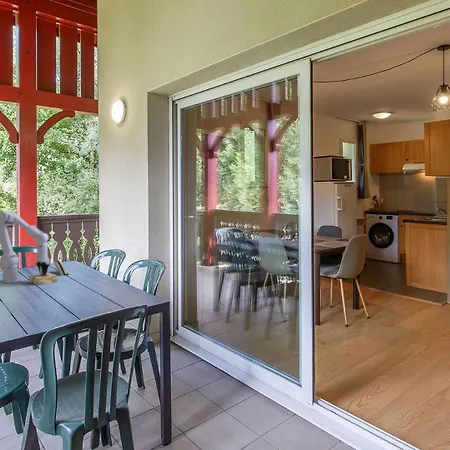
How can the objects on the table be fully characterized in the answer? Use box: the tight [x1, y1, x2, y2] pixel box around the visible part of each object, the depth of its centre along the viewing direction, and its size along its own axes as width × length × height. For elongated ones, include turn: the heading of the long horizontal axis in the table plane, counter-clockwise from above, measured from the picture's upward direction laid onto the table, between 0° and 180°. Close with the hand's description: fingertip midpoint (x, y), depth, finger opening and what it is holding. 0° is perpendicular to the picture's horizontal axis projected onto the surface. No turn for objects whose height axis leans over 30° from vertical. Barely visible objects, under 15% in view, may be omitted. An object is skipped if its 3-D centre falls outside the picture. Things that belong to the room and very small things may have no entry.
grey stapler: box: [54, 259, 70, 276], centre depth 261 cm, size 17×5×10 cm, turn 32°
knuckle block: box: [28, 272, 58, 286], centre depth 236 cm, size 12×12×4 cm
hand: (43, 274), depth 236 cm, fingers closed on peg, 3 cm apart
